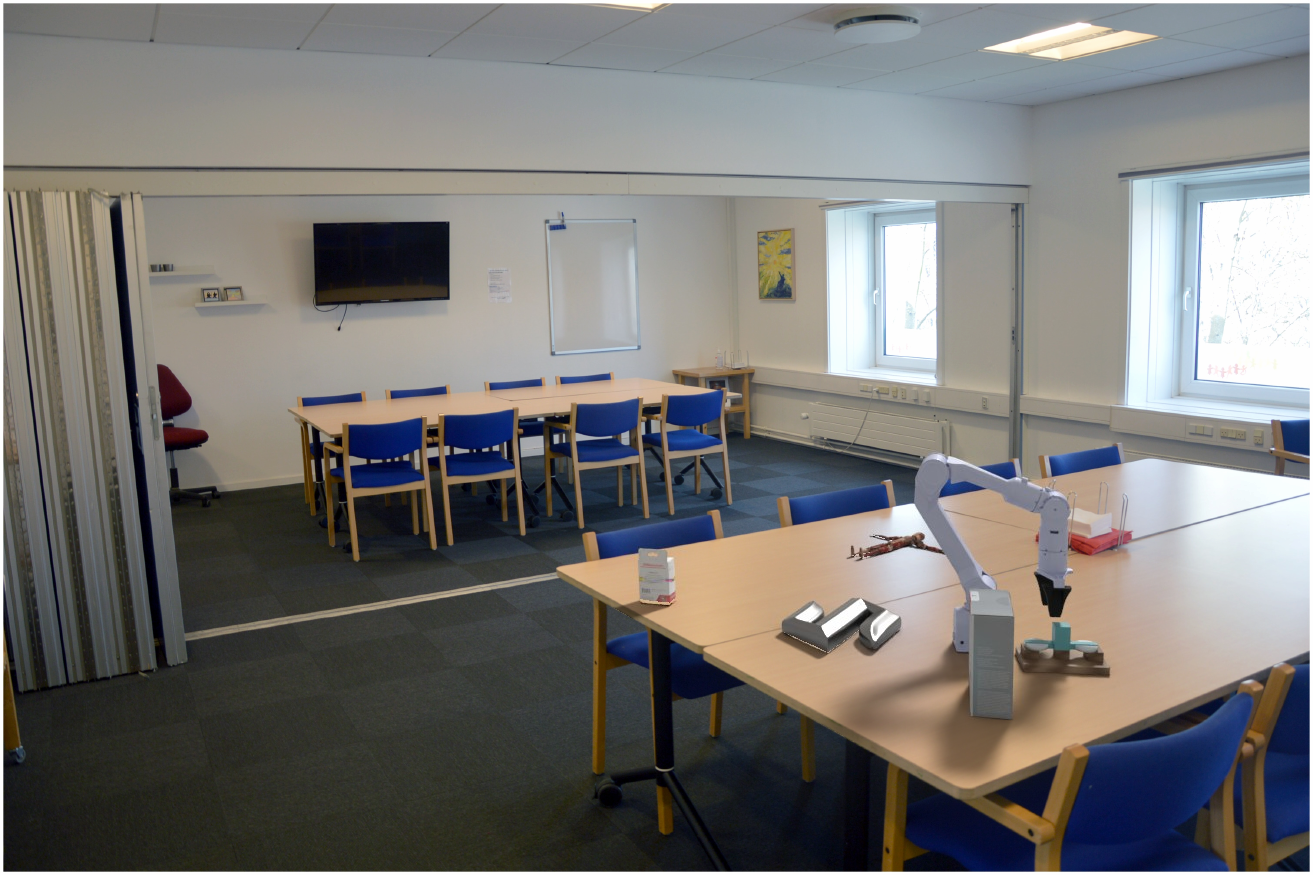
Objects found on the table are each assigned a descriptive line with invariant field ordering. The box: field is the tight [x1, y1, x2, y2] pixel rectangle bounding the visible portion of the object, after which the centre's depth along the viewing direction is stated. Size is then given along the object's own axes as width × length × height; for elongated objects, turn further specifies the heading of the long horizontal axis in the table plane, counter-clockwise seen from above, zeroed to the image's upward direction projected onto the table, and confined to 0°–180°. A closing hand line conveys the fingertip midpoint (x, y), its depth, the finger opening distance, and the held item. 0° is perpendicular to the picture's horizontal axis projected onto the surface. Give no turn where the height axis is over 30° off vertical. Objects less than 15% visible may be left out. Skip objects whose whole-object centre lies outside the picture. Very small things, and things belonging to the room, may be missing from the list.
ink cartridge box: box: [637, 547, 677, 603], centre depth 248 cm, size 9×5×15 cm, turn 68°
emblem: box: [781, 597, 902, 652], centre depth 223 cm, size 28×5×28 cm
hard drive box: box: [968, 588, 1015, 720], centre depth 181 cm, size 16×8×20 cm, turn 163°
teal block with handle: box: [1024, 621, 1099, 653], centre depth 199 cm, size 14×5×5 cm, turn 79°
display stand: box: [1015, 642, 1111, 676], centre depth 199 cm, size 16×10×4 cm, turn 79°
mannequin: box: [850, 531, 945, 558], centre depth 297 cm, size 26×29×4 cm
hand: (1051, 610), depth 204 cm, fingers open, 7 cm apart
